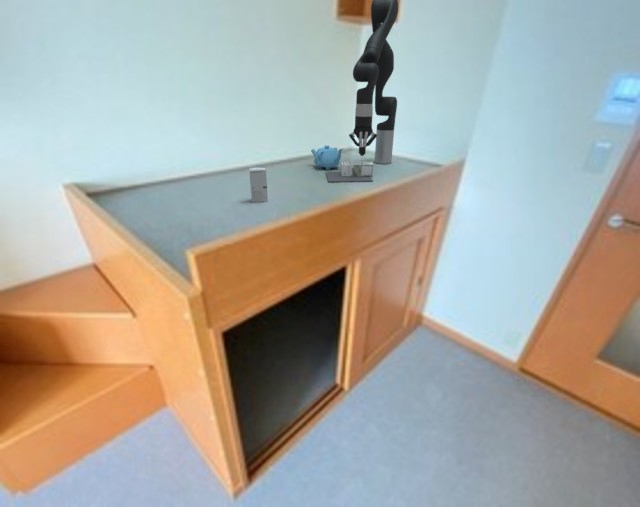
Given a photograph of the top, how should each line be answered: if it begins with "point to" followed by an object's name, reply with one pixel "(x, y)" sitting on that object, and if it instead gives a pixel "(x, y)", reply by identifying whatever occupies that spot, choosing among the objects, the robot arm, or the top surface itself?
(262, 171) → the skincare box
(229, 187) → the top surface
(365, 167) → the syrup box
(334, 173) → the mat
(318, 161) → the teapot
